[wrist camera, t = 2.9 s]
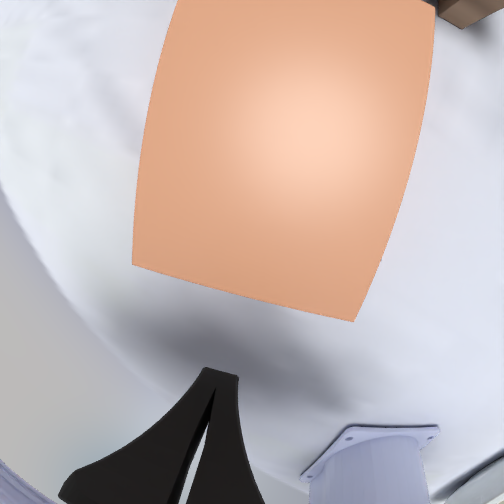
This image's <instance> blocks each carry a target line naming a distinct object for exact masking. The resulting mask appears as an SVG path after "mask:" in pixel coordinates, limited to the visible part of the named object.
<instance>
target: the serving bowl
mask: <svg viewBox="0 0 504 504" xmlns="http://www.w3.org/2000/svg"><path fill="white" fill-rule="evenodd" d="M503 500H504V456H503V457H501V458H499V459H498V460H496V461H494V462H493V463H491V464H490V465H488V466H487V467H485V468H484V469H482V470H481V471H479V472H478V473H476V474H475V475H474V476H473V477H471V478H470V479H469V480H468V481H467V482H466V483H465V484H464V485H462V486H461V487H460V488H459V489H458V490H456V491H455V492H454V493H453V494H452V495H451V496H450V497H449V498H448V499H447V500H446V502H445V503H444V504H498V503H500V502H501V501H503Z"/></svg>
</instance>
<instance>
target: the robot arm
mask: <svg viewBox="0 0 504 504" xmlns="http://www.w3.org/2000/svg"><path fill="white" fill-rule="evenodd" d="M238 381H239V377H238V376H237V375H234V374H230V373H226V372H222V371H219V370H215V369H211V368H208V367H205V368H203V369H202V371H201V373H200V374H199V376H198V377H197V379H196V380H195V382H194V383H193V384H192V386H191V387H190V388H189V389H188V391H187V392H186V393H185V394H184V395H183V396H182V398H181V399H180V400H179V401H178V402H177V403H176V404H175V405H174V406H173V407H172V408H171V409H170V411H168V412H167V413H166V414H165V415H164V416H163V417H162V418H161V419H160V420H159V421H158V422H156V423H155V424H154V425H153V426H152V427H151V428H149V429H148V430H147V431H145V432H144V433H143V434H142V435H140V436H139V437H137V438H136V439H135V440H133V441H132V442H130V443H129V444H127V445H126V446H124V447H122V448H121V449H119V450H117V451H115V452H114V453H112V454H110V455H108V456H106V457H104V458H103V459H101V460H98V461H96V462H94V463H92V464H89V465H87V466H85V467H82V468H80V469H77V470H75V471H74V472H73V473H72V474H71V475H70V476H69V477H68V478H67V480H66V481H65V482H64V484H63V486H62V488H61V490H60V492H59V494H58V497H59V498H60V499H61V500H63V501H64V502H66V503H67V504H178V503H179V500H180V496H181V493H182V490H183V487H184V483H185V480H186V477H187V474H188V470H189V468H190V465H191V462H192V460H193V458H194V455H195V453H196V451H197V448H198V446H199V444H200V441H201V439H202V437H203V434H204V432H205V429H206V427H207V425H208V429H207V434H206V440H205V445H204V449H203V452H202V455H201V458H200V462H199V464H198V468H197V471H196V474H195V477H194V480H193V483H192V486H191V489H190V493H189V496H188V499H187V502H186V504H265V502H264V500H263V498H262V496H261V494H260V491H259V489H258V486H257V484H256V482H255V479H254V476H253V473H252V471H251V468H250V464H249V461H248V458H247V454H246V450H245V446H244V442H243V437H242V432H241V426H240V418H239V410H238ZM208 422H209V423H208ZM439 433H440V428H439V427H422V428H372V427H350V428H348V429H346V430H345V431H344V432H343V433H342V435H341V436H340V437H339V438H338V439H337V440H336V441H335V442H334V443H333V444H332V446H331V447H330V448H329V449H328V450H327V451H326V452H325V453H324V454H323V455H322V456H321V457H320V458H319V459H318V460H317V461H316V462H315V463H314V464H313V465H312V466H311V467H310V468H309V469H308V470H307V471H306V472H305V473H303V474H302V475H301V476H300V479H299V480H300V481H301V482H309V483H310V493H309V504H430V498H429V493H428V487H427V482H426V477H425V472H424V467H423V463H422V458H421V454H420V450H421V449H422V448H424V447H425V446H426V445H427V444H428V443H429V442H430V441H431V440H433V439H434V438H435V437H436V436H437V435H438V434H439ZM0 504H57V503H55V502H54V501H52V500H50V499H49V498H48V497H46V496H45V495H43V494H42V493H40V492H39V491H38V490H36V489H35V488H33V487H32V486H31V485H30V484H28V483H27V482H26V481H24V480H23V479H22V478H21V477H19V476H18V475H17V474H16V473H15V472H13V471H12V470H11V469H10V468H9V467H8V466H6V465H5V463H4V462H3V461H2V460H0Z"/></svg>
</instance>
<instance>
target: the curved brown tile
mask: <svg viewBox="0 0 504 504" xmlns="http://www.w3.org/2000/svg"><path fill="white" fill-rule="evenodd" d="M502 8H504V0H438V16H439V17H441V18H443V19H445V20H446V21H448V22H450V23H452V24H453V25H455V26H457V27H458V28H460V29H464V28H465V27H467V26H469V25H471V24H473V23H475V22H477V21H478V20H480V19H482V18H484V17H486V16H488V15H490V14H492V13H494V12H496V11H498V10H500V9H502Z"/></svg>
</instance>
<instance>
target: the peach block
mask: <svg viewBox="0 0 504 504" xmlns="http://www.w3.org/2000/svg"><path fill="white" fill-rule="evenodd" d="M434 28H435V7H434V6H432V5H430V4H428V3H426V2H424V1H422V0H178V1H177V4H176V7H175V10H174V13H173V16H172V19H171V22H170V25H169V28H168V31H167V35H166V38H165V41H164V45H163V48H162V52H161V56H160V59H159V63H158V67H157V71H156V75H155V80H154V84H153V88H152V93H151V98H150V103H149V108H148V113H147V118H146V124H145V129H144V136H143V142H142V149H141V156H140V163H139V171H138V180H137V189H136V200H135V212H134V227H133V249H132V265H135V266H138V267H142V268H145V269H148V270H151V271H155V272H158V273H161V274H165V275H168V276H172V277H175V278H178V279H182V280H185V281H189V282H192V283H196V284H200V285H203V286H207V287H210V288H214V289H218V290H221V291H225V292H229V293H233V294H236V295H240V296H244V297H248V298H252V299H256V300H260V301H264V302H268V303H272V304H276V305H280V306H284V307H288V308H292V309H297V310H301V311H305V312H310V313H314V314H318V315H323V316H327V317H332V318H336V319H341V320H346V321H351V322H354V320H355V318H356V316H357V314H358V312H359V310H360V308H361V305H362V303H363V301H364V299H365V297H366V294H367V292H368V290H369V287H370V285H371V283H372V280H373V278H374V276H375V273H376V271H377V268H378V266H379V263H380V261H381V258H382V256H383V253H384V250H385V248H386V245H387V242H388V240H389V237H390V234H391V231H392V229H393V226H394V223H395V220H396V217H397V214H398V211H399V208H400V205H401V202H402V198H403V195H404V192H405V188H406V185H407V182H408V178H409V175H410V171H411V167H412V163H413V160H414V156H415V152H416V147H417V143H418V139H419V135H420V130H421V125H422V120H423V115H424V110H425V105H426V99H427V93H428V86H429V79H430V72H431V64H432V54H433V43H434Z"/></svg>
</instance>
